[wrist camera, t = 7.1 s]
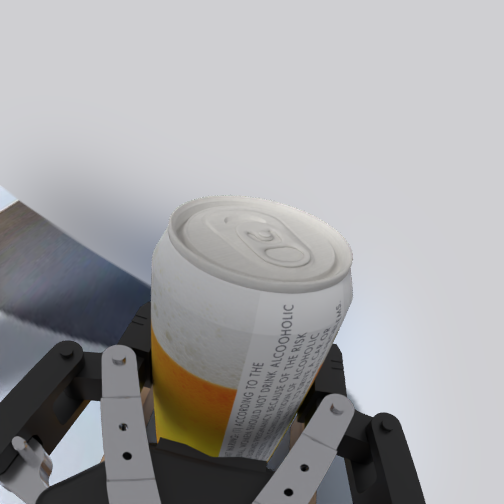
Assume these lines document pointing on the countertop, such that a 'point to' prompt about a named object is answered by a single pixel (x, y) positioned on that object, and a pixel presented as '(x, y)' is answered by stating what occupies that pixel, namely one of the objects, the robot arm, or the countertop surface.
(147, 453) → the robot arm
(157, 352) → the beer can
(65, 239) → the countertop surface
